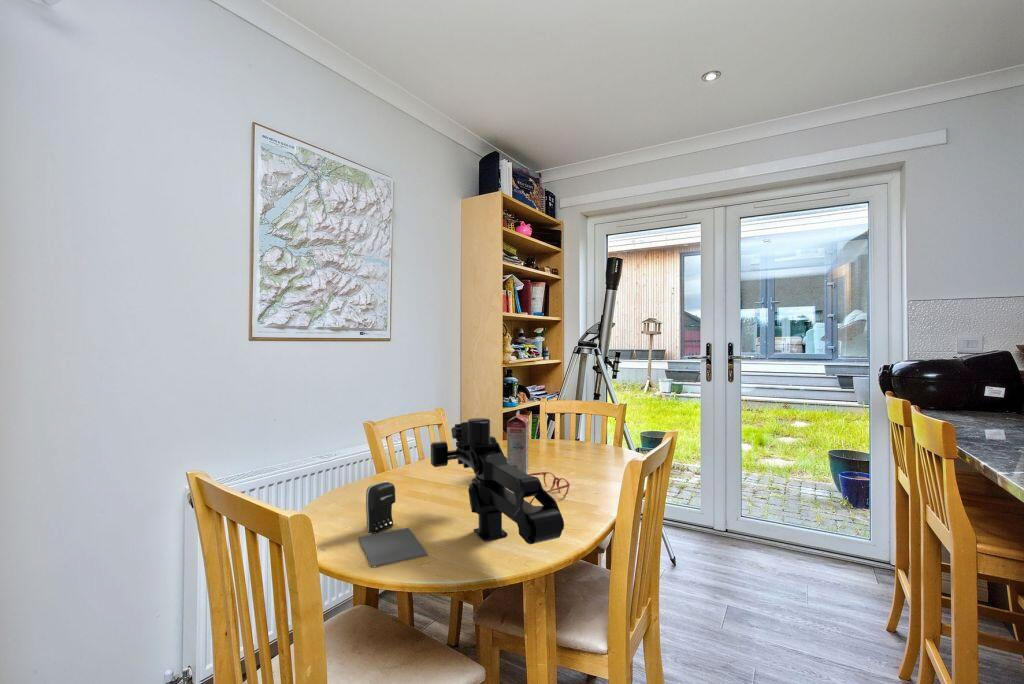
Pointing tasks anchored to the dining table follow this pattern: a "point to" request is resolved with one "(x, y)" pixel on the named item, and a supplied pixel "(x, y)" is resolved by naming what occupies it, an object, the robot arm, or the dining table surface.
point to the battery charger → (379, 506)
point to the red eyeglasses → (553, 482)
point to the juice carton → (517, 442)
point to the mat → (392, 547)
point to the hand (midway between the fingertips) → (453, 445)
